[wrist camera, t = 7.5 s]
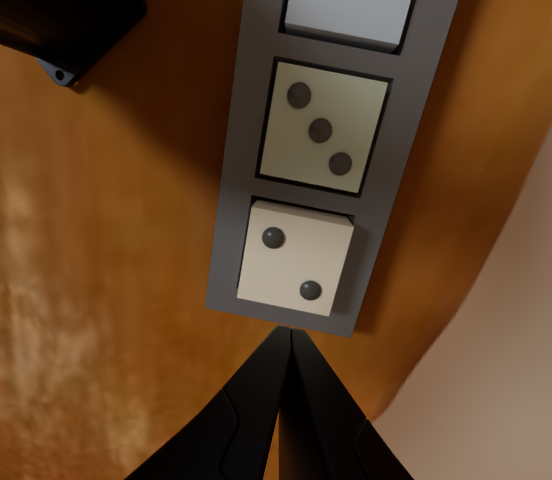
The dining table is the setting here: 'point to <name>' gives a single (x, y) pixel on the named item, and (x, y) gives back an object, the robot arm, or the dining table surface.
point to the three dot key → (321, 126)
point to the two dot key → (293, 257)
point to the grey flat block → (359, 206)
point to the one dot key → (349, 22)
